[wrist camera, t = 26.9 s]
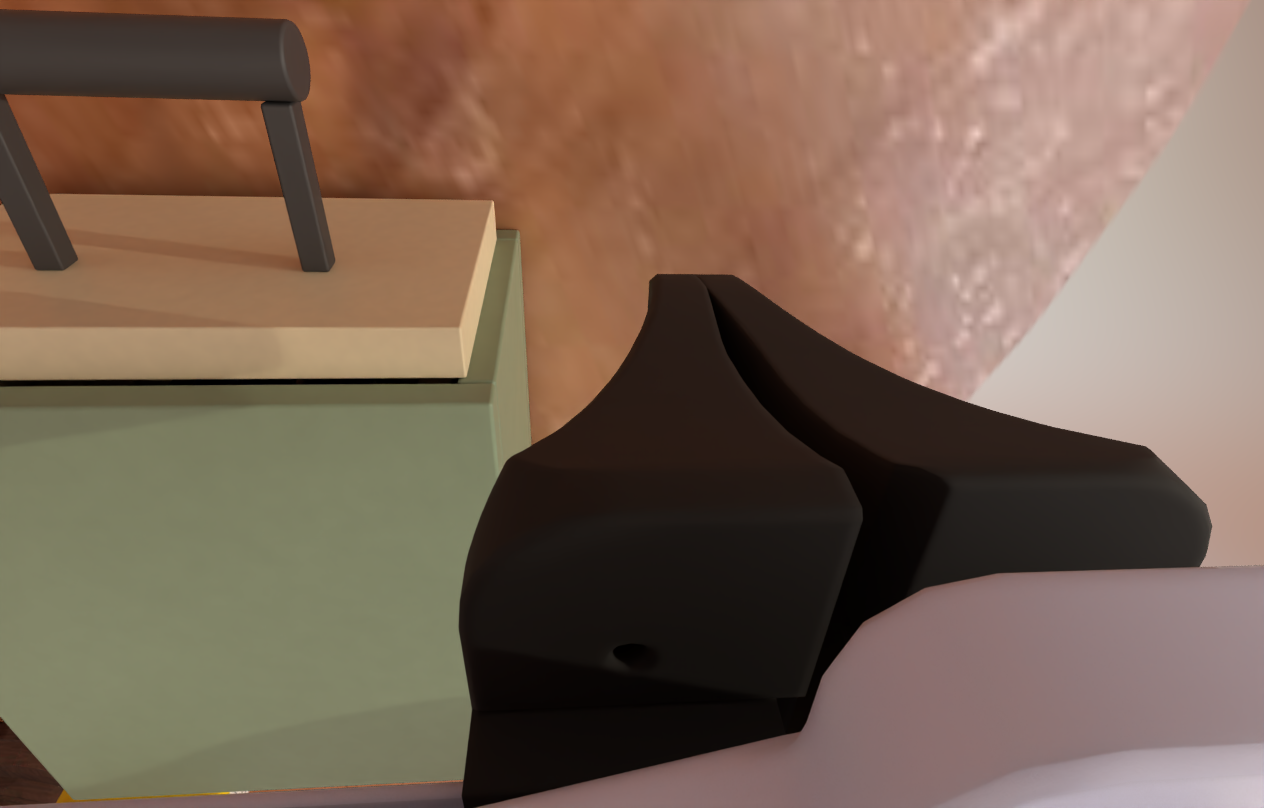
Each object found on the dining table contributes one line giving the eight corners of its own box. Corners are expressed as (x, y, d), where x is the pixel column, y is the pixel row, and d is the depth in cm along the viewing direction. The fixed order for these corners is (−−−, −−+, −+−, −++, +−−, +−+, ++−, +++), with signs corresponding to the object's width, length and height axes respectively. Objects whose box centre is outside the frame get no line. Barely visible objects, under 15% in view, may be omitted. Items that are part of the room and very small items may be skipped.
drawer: (-81, -24, 16) (-474, 20, 10) (478, -2, 17) (429, 51, 11) (188, 545, 26) (78, 730, 20) (519, 537, 27) (505, 711, 21)
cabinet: (39, 223, 20) (-274, 410, 13) (519, 229, 21) (492, 404, 14) (201, 568, 28) (72, 801, 21) (537, 559, 29) (527, 777, 22)
